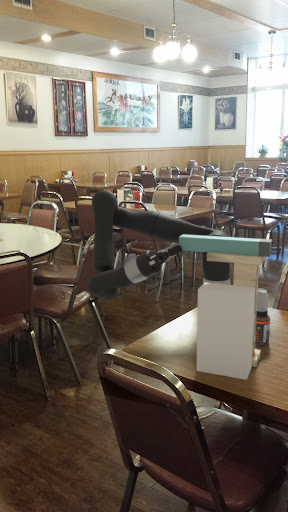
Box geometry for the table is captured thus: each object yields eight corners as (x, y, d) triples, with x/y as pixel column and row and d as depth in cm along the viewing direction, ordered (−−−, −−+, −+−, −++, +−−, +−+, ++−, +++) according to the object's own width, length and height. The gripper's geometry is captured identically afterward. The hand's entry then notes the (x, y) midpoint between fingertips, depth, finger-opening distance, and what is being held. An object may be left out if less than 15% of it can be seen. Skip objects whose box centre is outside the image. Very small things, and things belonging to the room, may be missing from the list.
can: (252, 326, 163) (253, 293, 161) (242, 319, 171) (243, 287, 168) (271, 324, 165) (272, 292, 163) (260, 317, 172) (262, 286, 170)
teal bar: (183, 247, 141) (183, 234, 140) (271, 253, 131) (272, 239, 130) (178, 250, 137) (178, 236, 136) (269, 256, 127) (270, 242, 126)
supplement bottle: (246, 342, 150) (247, 309, 148) (256, 337, 154) (257, 304, 152) (262, 347, 146) (264, 313, 144) (272, 342, 150) (274, 308, 148)
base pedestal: (203, 360, 138) (205, 282, 132) (251, 368, 132) (254, 287, 127) (196, 370, 131) (197, 289, 126) (246, 379, 126) (250, 294, 121)
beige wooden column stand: (211, 348, 146) (214, 248, 139) (260, 355, 141) (265, 251, 133) (204, 358, 139) (206, 253, 132) (255, 367, 133) (260, 257, 126)
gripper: (127, 261, 139) (171, 237, 132) (145, 251, 152) (187, 229, 145) (139, 283, 139) (184, 260, 132) (156, 272, 152) (198, 250, 145)
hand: (185, 244), depth 138 cm, fingers open, 8 cm apart
